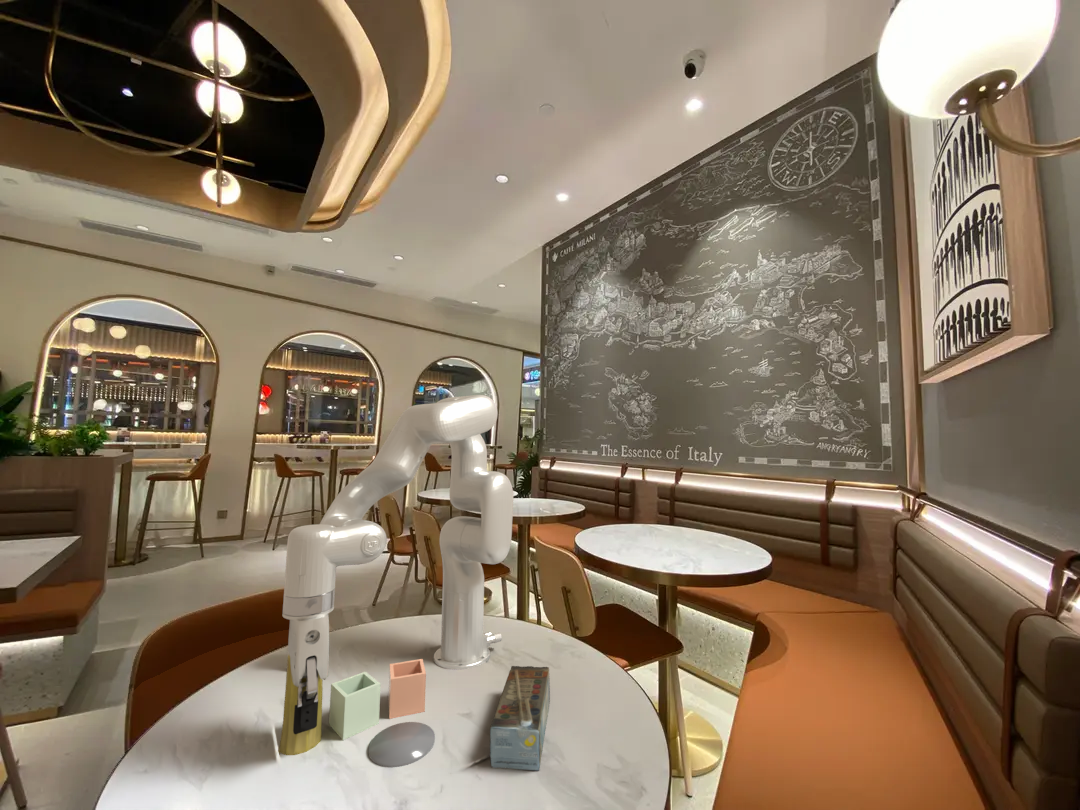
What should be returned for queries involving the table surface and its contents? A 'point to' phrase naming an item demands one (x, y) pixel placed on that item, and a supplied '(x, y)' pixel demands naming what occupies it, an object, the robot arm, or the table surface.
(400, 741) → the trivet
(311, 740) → the vase
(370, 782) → the table surface
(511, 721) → the beverage carton
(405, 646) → the table surface
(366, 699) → the cup green
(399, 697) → the cup terracotta
